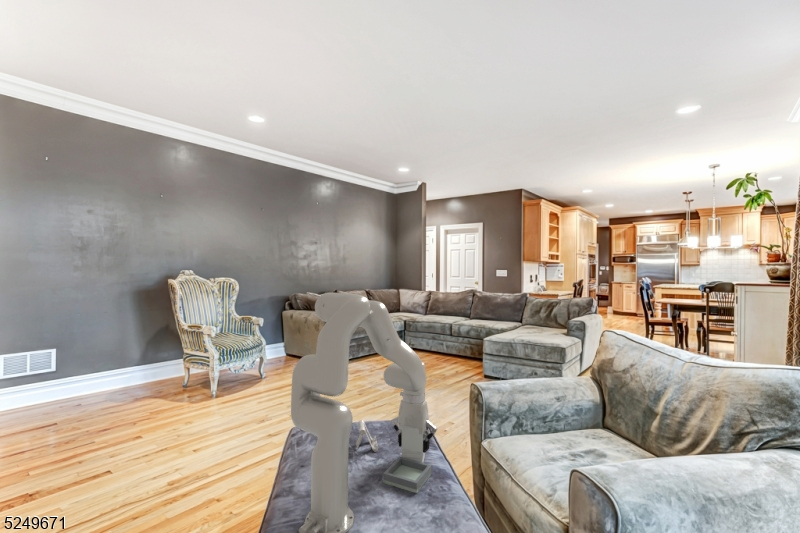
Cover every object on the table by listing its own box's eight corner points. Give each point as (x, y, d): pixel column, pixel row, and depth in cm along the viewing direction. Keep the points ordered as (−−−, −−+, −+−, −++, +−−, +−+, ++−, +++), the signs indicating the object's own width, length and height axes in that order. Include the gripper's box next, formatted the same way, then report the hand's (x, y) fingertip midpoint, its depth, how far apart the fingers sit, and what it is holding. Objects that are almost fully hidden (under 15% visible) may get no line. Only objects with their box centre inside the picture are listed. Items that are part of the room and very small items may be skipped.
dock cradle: (416, 493, 111) (416, 483, 111) (382, 482, 117) (383, 473, 117) (431, 474, 121) (431, 465, 121) (400, 465, 127) (400, 456, 127)
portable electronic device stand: (378, 451, 137) (378, 428, 137) (356, 453, 135) (356, 429, 135) (375, 440, 145) (376, 419, 145) (355, 442, 144) (355, 420, 144)
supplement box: (425, 456, 133) (425, 420, 133) (422, 467, 125) (423, 428, 126) (404, 454, 134) (404, 418, 134) (400, 464, 127) (401, 426, 127)
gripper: (386, 396, 131) (386, 446, 130) (433, 405, 123) (432, 458, 123) (396, 390, 137) (396, 438, 137) (441, 398, 129) (441, 449, 129)
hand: (413, 447), depth 130 cm, fingers closed on supplement box, 8 cm apart
